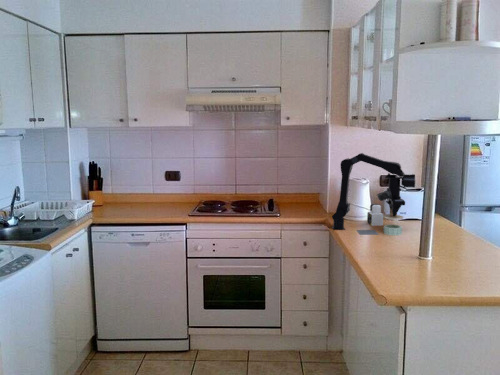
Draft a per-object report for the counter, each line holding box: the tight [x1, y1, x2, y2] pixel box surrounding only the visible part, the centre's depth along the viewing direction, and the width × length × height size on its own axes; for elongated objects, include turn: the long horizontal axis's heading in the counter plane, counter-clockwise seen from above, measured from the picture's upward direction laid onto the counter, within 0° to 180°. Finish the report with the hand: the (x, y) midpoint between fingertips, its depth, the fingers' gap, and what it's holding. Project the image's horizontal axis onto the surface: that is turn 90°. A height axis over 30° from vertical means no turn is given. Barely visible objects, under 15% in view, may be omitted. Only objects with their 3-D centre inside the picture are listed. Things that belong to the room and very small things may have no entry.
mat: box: [356, 229, 380, 236], centre depth 236 cm, size 10×10×1 cm
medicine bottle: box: [366, 203, 384, 227], centre depth 254 cm, size 7×7×12 cm
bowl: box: [383, 224, 403, 236], centre depth 234 cm, size 9×9×4 cm
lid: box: [383, 208, 404, 221], centre depth 232 cm, size 10×10×5 cm
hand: (393, 215), depth 233 cm, fingers closed on lid, 3 cm apart
